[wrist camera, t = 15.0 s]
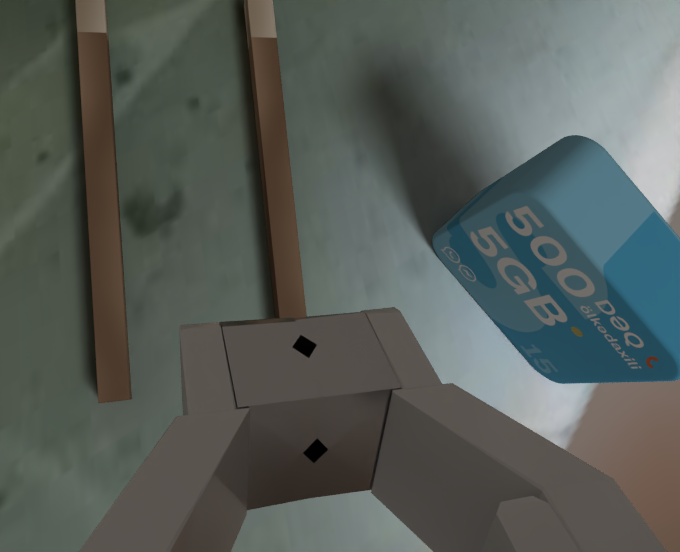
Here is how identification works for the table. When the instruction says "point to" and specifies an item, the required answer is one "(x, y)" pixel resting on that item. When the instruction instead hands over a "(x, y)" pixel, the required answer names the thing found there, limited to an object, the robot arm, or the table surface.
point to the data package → (572, 267)
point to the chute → (106, 198)
